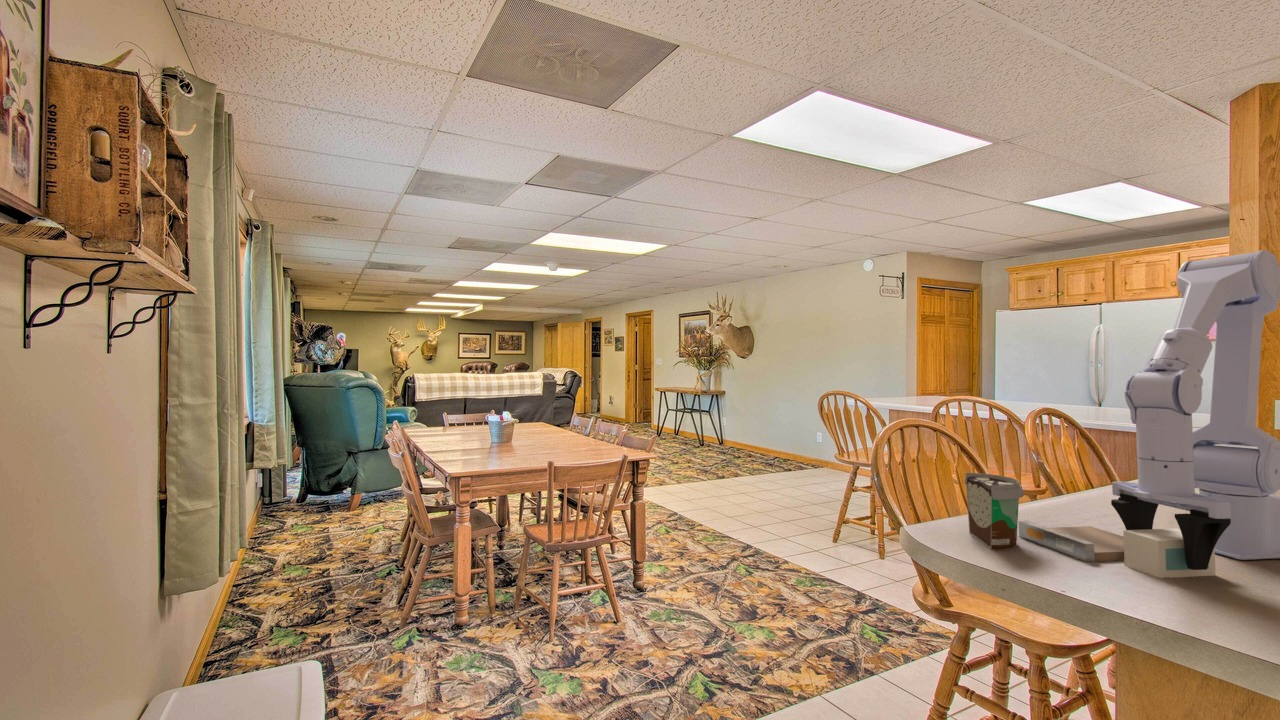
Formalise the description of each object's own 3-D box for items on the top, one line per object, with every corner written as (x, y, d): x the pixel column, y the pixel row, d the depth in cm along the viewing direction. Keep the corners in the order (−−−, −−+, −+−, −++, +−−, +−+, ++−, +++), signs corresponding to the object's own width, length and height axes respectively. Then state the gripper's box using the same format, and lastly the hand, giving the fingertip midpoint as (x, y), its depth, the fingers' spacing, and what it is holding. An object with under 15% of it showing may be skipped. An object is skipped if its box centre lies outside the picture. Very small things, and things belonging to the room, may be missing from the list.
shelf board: (1090, 533, 96) (1089, 526, 96) (1166, 558, 83) (1166, 549, 83) (1027, 535, 96) (1027, 528, 96) (1095, 561, 83) (1095, 552, 83)
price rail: (1027, 535, 96) (1026, 520, 96) (1094, 561, 83) (1094, 543, 83) (1017, 536, 95) (1017, 521, 95) (1084, 561, 82) (1083, 543, 82)
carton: (1177, 564, 81) (1176, 528, 81) (1216, 576, 76) (1214, 538, 76) (1124, 566, 81) (1123, 530, 81) (1159, 579, 76) (1158, 540, 76)
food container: (1040, 554, 86) (1038, 486, 86) (995, 552, 87) (993, 485, 87) (1005, 532, 98) (1004, 472, 98) (966, 530, 99) (964, 472, 99)
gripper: (1091, 452, 86) (1094, 544, 86) (1192, 468, 71) (1196, 579, 71) (1136, 451, 86) (1139, 543, 86) (1244, 466, 72) (1249, 577, 72)
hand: (1168, 559), depth 79 cm, fingers open, 7 cm apart
